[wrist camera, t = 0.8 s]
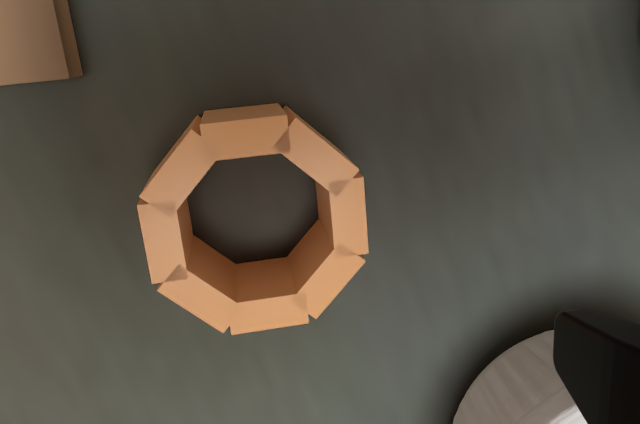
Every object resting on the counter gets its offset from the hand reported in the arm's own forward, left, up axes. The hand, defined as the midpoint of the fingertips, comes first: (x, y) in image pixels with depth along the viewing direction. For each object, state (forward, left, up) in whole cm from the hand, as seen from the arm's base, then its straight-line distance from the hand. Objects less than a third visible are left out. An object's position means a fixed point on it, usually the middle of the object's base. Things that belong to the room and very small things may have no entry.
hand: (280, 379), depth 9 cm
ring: (0, 0, -11) cm, 11 cm away
